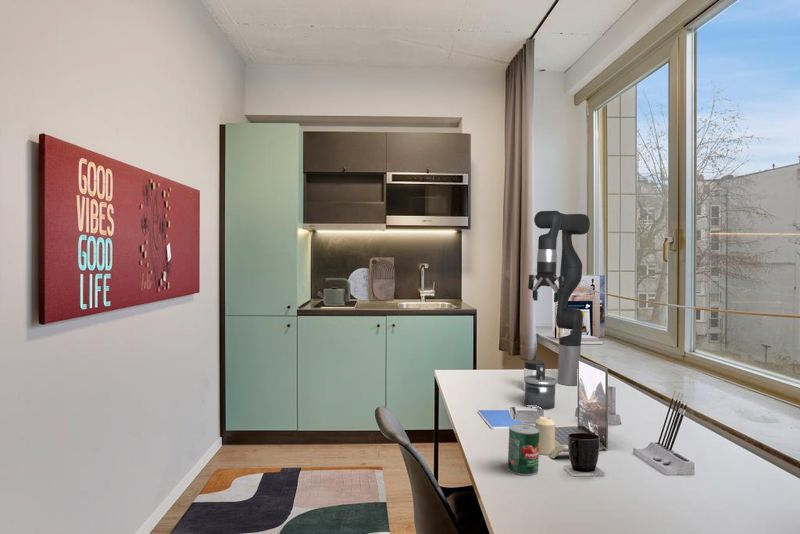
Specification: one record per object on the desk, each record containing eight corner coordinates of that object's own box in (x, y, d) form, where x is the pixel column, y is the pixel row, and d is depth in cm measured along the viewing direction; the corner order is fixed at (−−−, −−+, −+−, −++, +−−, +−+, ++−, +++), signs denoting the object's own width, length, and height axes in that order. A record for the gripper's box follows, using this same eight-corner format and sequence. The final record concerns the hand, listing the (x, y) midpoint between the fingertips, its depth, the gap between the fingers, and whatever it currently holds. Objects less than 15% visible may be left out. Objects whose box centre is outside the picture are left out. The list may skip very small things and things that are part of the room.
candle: (554, 449, 157) (555, 415, 156) (553, 456, 151) (554, 421, 151) (535, 447, 158) (536, 413, 158) (533, 453, 153) (534, 418, 153)
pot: (534, 398, 212) (535, 375, 212) (561, 404, 205) (562, 380, 205) (516, 406, 200) (517, 382, 199) (544, 412, 193) (545, 387, 193)
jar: (548, 391, 223) (549, 362, 223) (536, 394, 218) (537, 365, 218) (530, 387, 230) (531, 359, 230) (518, 389, 225) (519, 361, 225)
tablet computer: (476, 413, 193) (476, 409, 193) (510, 412, 194) (511, 409, 194) (491, 431, 173) (491, 427, 173) (529, 430, 175) (529, 426, 175)
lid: (532, 376, 211) (532, 361, 210) (562, 381, 203) (562, 365, 203) (518, 381, 201) (518, 365, 201) (548, 387, 194) (549, 370, 193)
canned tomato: (533, 478, 136) (535, 435, 136) (503, 471, 140) (504, 429, 140) (541, 467, 143) (543, 426, 143) (512, 461, 147) (514, 421, 147)
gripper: (567, 261, 213) (566, 302, 214) (534, 260, 222) (532, 299, 223) (560, 261, 207) (558, 303, 208) (526, 260, 216) (524, 300, 217)
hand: (545, 301), depth 215 cm, fingers open, 8 cm apart
